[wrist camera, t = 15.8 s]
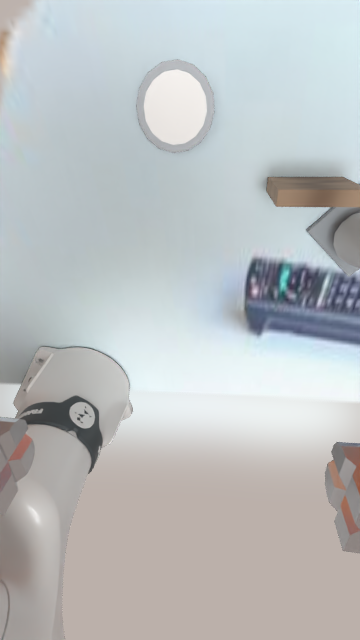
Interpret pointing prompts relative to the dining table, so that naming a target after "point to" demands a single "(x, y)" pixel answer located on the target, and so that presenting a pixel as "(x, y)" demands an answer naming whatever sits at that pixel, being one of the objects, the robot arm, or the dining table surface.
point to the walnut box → (313, 192)
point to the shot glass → (175, 106)
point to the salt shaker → (348, 240)
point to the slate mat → (332, 233)
